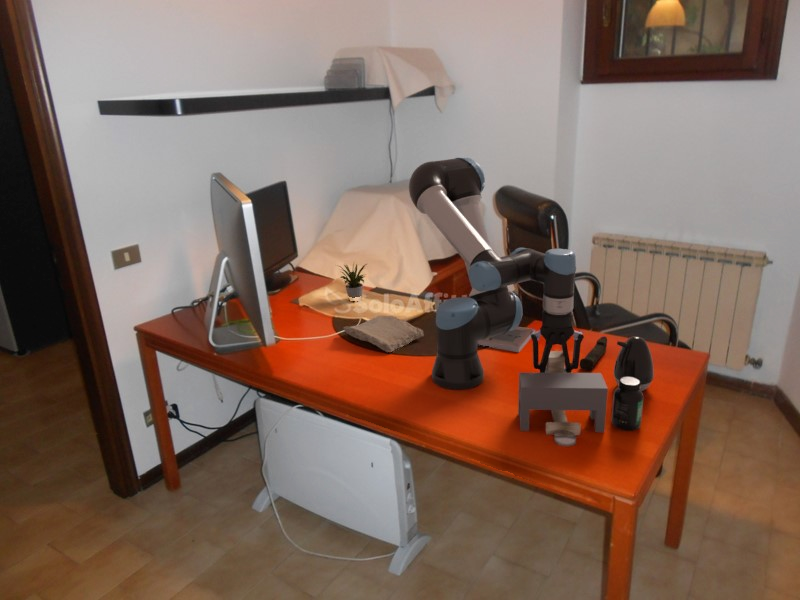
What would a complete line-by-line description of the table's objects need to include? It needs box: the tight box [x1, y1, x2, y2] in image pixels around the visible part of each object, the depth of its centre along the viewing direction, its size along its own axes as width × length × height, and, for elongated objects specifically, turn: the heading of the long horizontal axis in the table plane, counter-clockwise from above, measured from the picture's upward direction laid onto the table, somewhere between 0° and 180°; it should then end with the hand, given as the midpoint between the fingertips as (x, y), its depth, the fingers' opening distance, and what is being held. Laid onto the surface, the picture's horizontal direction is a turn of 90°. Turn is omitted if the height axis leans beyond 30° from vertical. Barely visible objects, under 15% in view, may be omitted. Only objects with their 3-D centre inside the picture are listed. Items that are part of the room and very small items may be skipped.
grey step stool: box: [517, 371, 609, 433], centre depth 148 cm, size 20×8×12 cm, turn 84°
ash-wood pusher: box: [545, 350, 582, 436], centre depth 152 cm, size 8×20×14 cm, turn 174°
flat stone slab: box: [343, 315, 425, 353], centre depth 205 cm, size 24×8×20 cm
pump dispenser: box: [613, 335, 655, 392], centre depth 163 cm, size 10×10×15 cm
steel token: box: [553, 430, 577, 447], centre depth 143 cm, size 5×5×2 cm
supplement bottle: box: [611, 377, 644, 432], centre depth 146 cm, size 7×7×12 cm
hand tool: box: [579, 336, 608, 372], centre depth 183 cm, size 19×4×5 cm, turn 143°
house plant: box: [336, 262, 368, 298], centre depth 241 cm, size 14×14×16 cm
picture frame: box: [478, 326, 536, 353], centre depth 202 cm, size 16×2×22 cm
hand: (554, 391), depth 160 cm, fingers closed on ash-wood pusher, 4 cm apart
